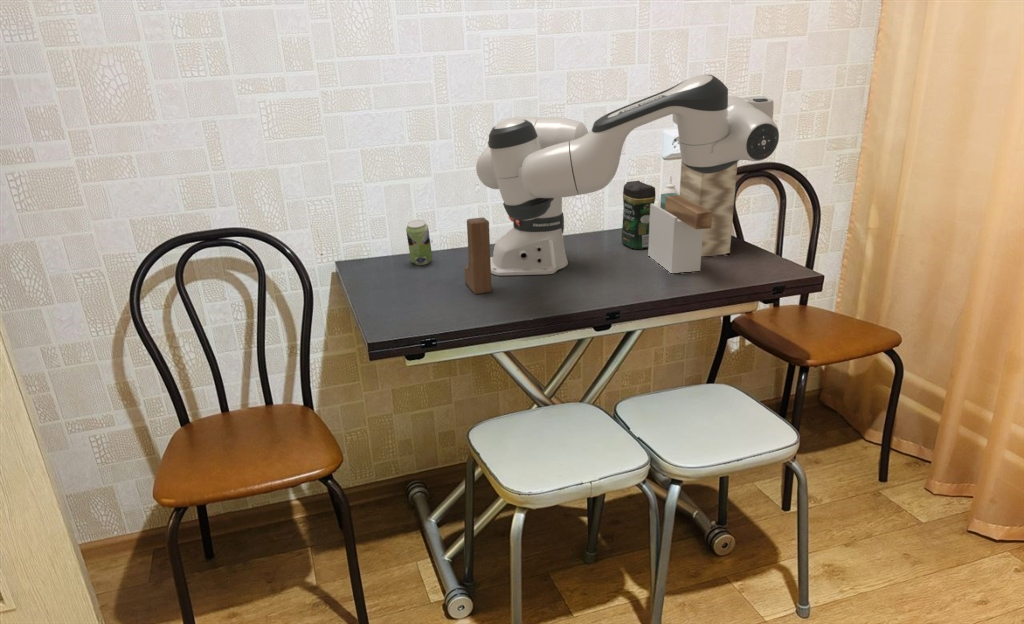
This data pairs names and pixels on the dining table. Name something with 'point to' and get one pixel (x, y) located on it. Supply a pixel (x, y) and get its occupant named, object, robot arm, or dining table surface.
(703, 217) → the brown rectangular block
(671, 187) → the sauce bottle
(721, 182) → the tall patterned box
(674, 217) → the upright white box
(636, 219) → the coffee jar
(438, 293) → the dining table surface
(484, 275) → the wooden block
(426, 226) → the beverage can
